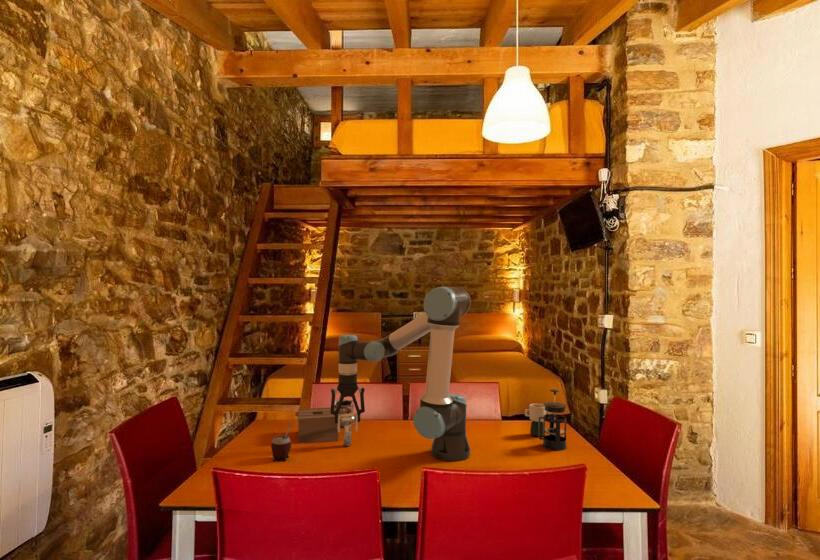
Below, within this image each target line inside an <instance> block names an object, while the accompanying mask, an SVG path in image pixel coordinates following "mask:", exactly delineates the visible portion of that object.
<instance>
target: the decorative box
mask: <svg viewBox="0 0 820 560" xmlns="http://www.w3.org/2000/svg"><path fill="white" fill-rule="evenodd" d="M338 401H339V399H338V400H336V399H335V405H334V407H335V409H336V407H337V404H338ZM354 407H355V405H354V402H353V399H352V400H351V399H343V402H342V405H341V408H340V411H339V414H340V415H342V414H354ZM352 423H353V422H351V425H352ZM340 428H344V423H343V422H340Z"/></svg>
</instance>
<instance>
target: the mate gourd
mask: <svg viewBox="0 0 820 560" xmlns="http://www.w3.org/2000/svg"><path fill="white" fill-rule="evenodd" d="M297 420H298V418H296V419H294V420H292V421H291V422H290V423H289V424H288V427H287V430H286V433H285V435H277V436H274V437H273V439H272V441H271V445H270V447H271V454H272V458H273V459H272V461H273V462H277V461H282V462H284V463H285V462H286V461H287V459H288V458H289V457H290V456H289V453H290V451H291V448H292V442H291V439H290V437H289V436H288V434H289V431H290V428H291V426H292V425H293V423H295V422H296V421H297Z"/></svg>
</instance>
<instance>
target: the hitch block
mask: <svg viewBox="0 0 820 560" xmlns="http://www.w3.org/2000/svg"><path fill="white" fill-rule="evenodd" d="M330 409H331V406H330V407H314V408H313V407H311V408H298V409H297V410H298V411H297V412H298V413H297V414H298V417H297V420H298V423H297V424H298V425H297V435H298V436H297V439H298V440H297V441H298V444H308V443H311V444H312V443H324V442H338V441H339V432H338V430H337V427H338V423H335V415H333V414H331V412H330ZM335 410H336V409H335V407H334V411H335Z"/></svg>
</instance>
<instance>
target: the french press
mask: <svg viewBox="0 0 820 560" xmlns="http://www.w3.org/2000/svg"><path fill="white" fill-rule="evenodd" d="M549 392H552V393H553V395H554V399H553V400H554V402H551V401H549V402H544V403H543V405H544V406H545V410H546V411H548V412H551V414H548V412H547V413H546V415H544V416H543V417H539V436H538V439H539V440H541V441H543V443H542V446H543V448H545V449H548V450H551V451H552V450H553V451H564V450H566V449H567V448H568V446H567V417H566V416H564V415H562V413H564V412H565V410H566V408H567V404H565V403H560V402H556V396H557V393H560V392H561V390H560V389H555V388H554V389H549ZM559 413H561V414H559ZM548 417H550V418H548ZM540 419H543V435H542V437H541V436H540ZM546 423H549V427H546ZM561 424H564V425H563V426H564V427H563V428H564V429H562V428H561ZM546 434H547V435H546ZM563 435H564V436H563Z"/></svg>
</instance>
